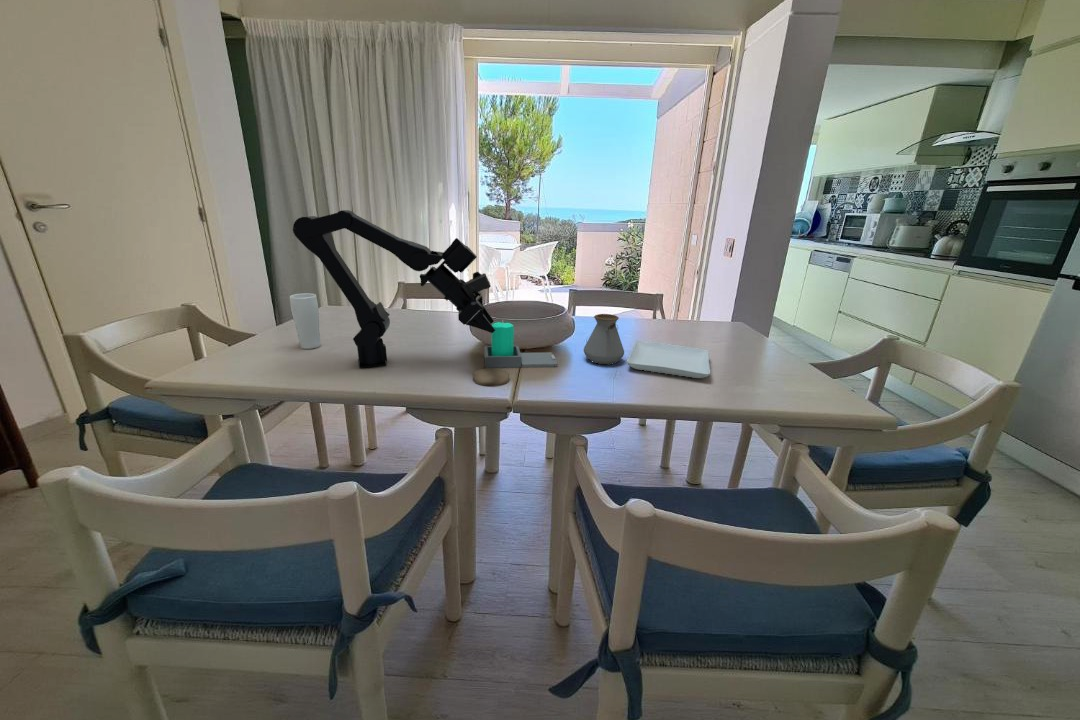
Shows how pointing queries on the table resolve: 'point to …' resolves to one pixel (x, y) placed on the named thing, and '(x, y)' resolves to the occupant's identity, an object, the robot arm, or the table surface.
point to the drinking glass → (306, 319)
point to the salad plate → (670, 359)
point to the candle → (502, 339)
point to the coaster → (490, 377)
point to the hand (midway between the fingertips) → (493, 326)
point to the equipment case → (519, 359)
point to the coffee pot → (604, 341)
